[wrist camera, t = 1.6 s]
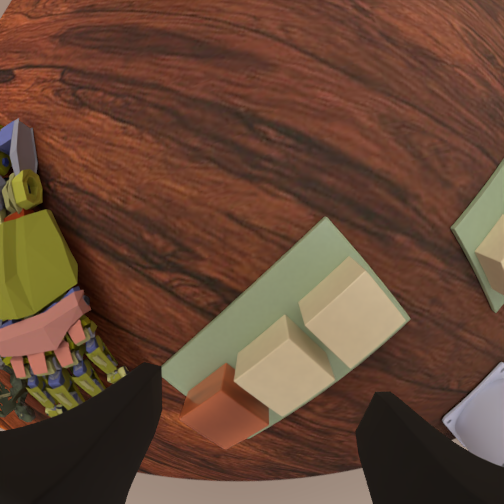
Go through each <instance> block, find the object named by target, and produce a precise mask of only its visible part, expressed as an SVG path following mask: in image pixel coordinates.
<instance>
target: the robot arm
mask: <svg viewBox="0 0 504 504" xmlns="http://www.w3.org/2000/svg"><path fill="white" fill-rule="evenodd" d="M161 412H162V366H158V365H154V364H150V363H146V362H144V363H142V364H140V365H139V366H138V367H136V368H135V369H133V370H132V371H131V372H129V373H128V374H127V375H125V376H124V377H122V378H121V379H120V380H118V381H117V382H115V383H114V384H112V385H111V386H109V387H108V388H106V389H105V390H103V391H102V392H100V393H99V394H97V395H95V396H94V397H92V398H90V399H88V400H87V401H85V402H83V403H81V404H80V405H78V406H76V407H74V408H72V409H70V410H68V411H66V412H64V413H61V414H59V415H57V416H54V417H52V418H49V419H46V420H43V421H40V422H37V423H34V424H30V425H27V426H24V427H20V428H16V429H11V430H6V431H0V504H125V502H126V498H127V495H128V492H129V489H130V487H131V484H132V482H133V480H134V477H135V475H136V473H137V471H138V469H139V467H140V465H141V462H142V460H143V458H144V456H145V454H146V452H147V450H148V447H149V445H150V443H151V441H152V439H153V437H154V434H155V432H156V428H157V425H158V422H159V419H160V416H161ZM442 421H443V423H444V424H445V425H446V426H447V428H448V429H449V430H450V431H451V432H452V433H453V434H454V436H455V437H456V438H457V439H458V440H459V441H460V443H461V444H462V445H463V446H464V447H467V449H468V451H467V450H466V449H464V448H462V447H460V446H459V445H457V444H456V443H454V442H453V441H451V440H450V439H449V438H447V437H446V436H445V435H443V434H442V433H440V432H439V431H438V430H437V429H435V428H434V427H433V426H431V425H430V424H429V423H428V422H427V421H425V420H424V419H423V418H422V417H421V416H419V415H418V414H417V413H416V412H415V411H413V410H412V409H411V408H410V407H409V406H408V405H406V404H405V403H404V402H403V401H402V400H400V399H399V398H398V397H397V396H395V395H394V394H393V393H391V392H375V394H374V396H373V398H372V400H371V402H370V404H369V406H368V408H367V410H366V412H365V414H364V416H363V418H362V420H361V422H360V424H359V426H358V428H357V429H356V439H357V447H358V453H359V457H360V461H361V464H362V468H363V471H364V475H365V478H366V481H367V485H368V488H369V491H370V495H371V498H372V502H373V504H504V363H503V362H500V363H499V364H498V365H497V366H496V367H495V368H494V369H493V371H492V372H491V373H490V374H489V375H488V376H487V377H486V378H485V379H484V380H483V381H482V382H481V383H480V384H479V385H478V386H477V387H476V388H475V389H474V390H473V391H472V392H471V393H470V394H469V395H468V396H467V397H465V398H464V399H463V400H462V401H461V402H460V403H459V404H458V405H457V406H456V407H454V408H453V409H452V410H451V411H450V412H449V413H447V414H446V415H445V416H444V417H443V419H442Z"/></svg>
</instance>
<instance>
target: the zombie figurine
mask: <svg viewBox="0 0 504 504" xmlns="http://www.w3.org/2000/svg"><path fill="white" fill-rule="evenodd" d="M0 369H1V370H2V369H3V370H4V371H6V372H8V373H9V374H10V383H11V385H12V386H13V388H10V392H9V391H8V390H7V389H5V386H4V385H3V384H2V383H1V382H0V385H1V386H0V389H1V391H2V392H1V391H0V403H2V404H3V406H1V404H0V408H1V410H2V411H0V417H5V416H7V415H8V414H9V413H10V412H11V411H13V410H15V412H16V414H17V416H18V417H19V419H22V420H24V421H25V422H31V421H32V420H33V419H34V418H35V417H36V416H35V412H34V410H33V409H32V408H30V407H29V406H24V405H27V404H26V403H25V402H24V401H25V399H26V396H27V394H28V390H27V389H26V387H27V382H26V380H25V379H20V378H17V377H16V375H15V372H14V370H13V369H12V368H11V367H9V366H7V365H5V363H4V362H3V361H2V359H1V355H0ZM1 387H2V388H1ZM11 396H13V397H12V398H11V399H10V400H9V401H8V397H11ZM17 399H18V403H16V400H17ZM24 403H25V404H24Z"/></svg>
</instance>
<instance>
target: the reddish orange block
mask: <svg viewBox="0 0 504 504" xmlns="http://www.w3.org/2000/svg"><path fill="white" fill-rule="evenodd" d="M234 376H235V369H234V368H232V367H231V366H230V365H229V364H227V363H225V364H224V365H222V366H221V367H220V368H218V369H217V370H216V371H215V372H213V373H212V374H211V375H209V376H208V377H207V378H205V379H204V380H203V381H202V382H200V383H199V384H198V385H196V386H195V387H194V388H192V389H191V390H190V391H188V393H187V396H186V399H185V402H184V405H183V408H182V411H181V414H180V417H179V420H180V421H182V422H183V423H185V424H186V425H187V426H189V427H190V428H192V429H193V430H195V431H196V432H198V433H199V434H201V435H202V436H204V437H205V438H207V439H209V440H210V441H212V442H213V443H215V444H217V445H218V446H220V447H221V448H223V449H225V450H226V449H228V448H230V447H232V446H234V445H235V444H237V443H239V442H241V441H243V440H244V439H246V438H248V437H250V436H252V435H253V434H255V433H257V432H259V431H260V430H262V429H264V428H265V427H267V426H268V425H269V407H267V406H266V405H265V404H263V403H262V402H260V401H259V400H258V399H256V398H255V397H254V396H252V395H251V394H250V393H248V392H247V391H246V390H244V389H243V388H242V387H240V386H239V385H238V384H237V383H235V382H234Z"/></svg>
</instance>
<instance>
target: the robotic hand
mask: <svg viewBox="0 0 504 504" xmlns="http://www.w3.org/2000/svg"><path fill="white" fill-rule="evenodd" d="M11 165H12V167H13V170H14V173H12V174H10V177H8V178H4V176H5V175H6V174H7V172H8V171H9V169H10V167H11ZM37 166H38V161H37V155H36V149H35V142H34V135H33V128H31V129H30V128H29V127H27V126H26V125H25V124H23V123H22V122H20V121H19V118H18V119H17V120H15V121H13V122H11V123H10V124H8V125H6V126H5V127H4V126H2V125H0V355H1V359H2V361H3V362H4V363H5V365H7V366H9V367H11V368H12V369H13V370H14V372H15V375H16V377H17V378H20V379H25V380H26V382H27V384H28V385H27V387H26V389H27V390H28V392H29V393H30V394H31V395H32V396H33V397H35V398H36V399H37V400H38V401H39V402H40V403H41V404H42V405H43V406H45V407H46V410H45V412H46V413H47V415H49V416H50V417H54V416H57V415H59V414H61V413H64V412H66V411H68V410H70V409H72V408H74V407H76V406H78V405H80V404H81V403H83V402H85V400H84V398H83V396H82V395H81V393H80V391H79V390H78V388H77V386H76V384H78V385H79V386H80V387H81V388H82V389H84V390H85V391H86V392H87V393H88V394H90V395H91V396H92V397H94V396H95V395H97V394H99V393H100V392H102V391H103V390H105V389H106V387H105V386H104V384H103V383H102V381H101V380H100V378H99V377H98V375H97V374H96V372H95V370H94V369H93V367H92V366H91V364H90V362H89V361H88V360H87V359H85V360H83V355H84V353H86V355H87V356H88V358H89V359H90V360H91V361H92V362H93V363H94V364H96V365H97V366H98V367H99V368H100V369H101V370H103V371H104V372H105V373H106V374H107V381H108V382H110V383H113V384H114V383H115V382H117V381H118V380H120V379H121V378H122V377H124V376H125V375H127V374H128V373H129V371H128V369H127V367H125V366H122V367H120V368H119V367H118V368H116V366H117V365H118V362H117V361H116V360H115V358H114V357H113V355H112V354H111V353H110V351H109V350H108V348H107V347H106V345H105V344H104V343H103V341H102V340H101V338H100V337H99V336H98V335H97V336H96V337H95V330H96V328H97V327H98V326H97V325H96V324H95V323H94V322H93V321H92V320H89V318H87V317H86V315H85V313H86V312H88V311H90V310H91V307H90V306H89V304H90V298H89V297H88V296H87V295H86V296H85V295H84V290H80V288H79V286H77V287H74V288H72V287H73V286H74V285H76V284H77V275H78V264H77V262H76V260H75V258H74V257H73V255H72V253H71V251H70V249H69V247H68V245H67V243H66V241H65V239H64V237H63V235H62V233H61V231H60V229H59V227H58V224H57V222H56V220H55V218H54V216H53V214H52V211H51V210H47V209H45V210H42V211H38V212H35V213H34V210H31V209H32V208H34V207H36V206H37V205H39V204H41V203H43V201H42V185H41V182H40V179H39V175H37V174H36V173H37ZM70 288H72V289H71V290H70V291H69V292H68V293H66V291H67V290H69V289H70ZM41 312H42V313H41ZM79 318H80V320H81V321H80V320H79ZM8 319H12V320H9V321H8ZM23 319H24V320H23ZM65 334H66V337H65ZM66 338H67V339H66ZM85 342H86V344H85V345H83V343H85ZM68 367H69V368H70V370H71V371H72V373H73V376H72V377H71V376H70V374H69V372H68V370H67V369H66V368H68ZM73 380H74V381H73ZM74 382H75V383H76V384H75V383H74ZM58 402H59V403H61V404H60V405H53V404H54V403H56V404H58Z"/></svg>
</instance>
